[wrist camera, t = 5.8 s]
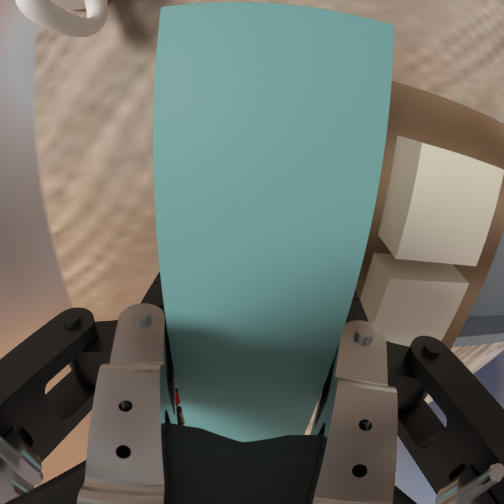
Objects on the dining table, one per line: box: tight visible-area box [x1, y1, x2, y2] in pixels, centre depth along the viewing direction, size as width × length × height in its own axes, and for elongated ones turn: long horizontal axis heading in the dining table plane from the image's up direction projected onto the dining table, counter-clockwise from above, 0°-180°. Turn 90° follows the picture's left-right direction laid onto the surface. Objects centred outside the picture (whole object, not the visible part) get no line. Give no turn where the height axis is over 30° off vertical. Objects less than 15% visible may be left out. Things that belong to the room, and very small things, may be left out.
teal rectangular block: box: [153, 2, 394, 442], centre depth 9 cm, size 16×4×5 cm, turn 177°
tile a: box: [378, 135, 504, 266], centre depth 12 cm, size 5×5×2 cm
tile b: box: [360, 253, 469, 347], centre depth 14 cm, size 5×5×2 cm
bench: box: [355, 81, 504, 349], centre depth 16 cm, size 16×10×4 cm, turn 176°
